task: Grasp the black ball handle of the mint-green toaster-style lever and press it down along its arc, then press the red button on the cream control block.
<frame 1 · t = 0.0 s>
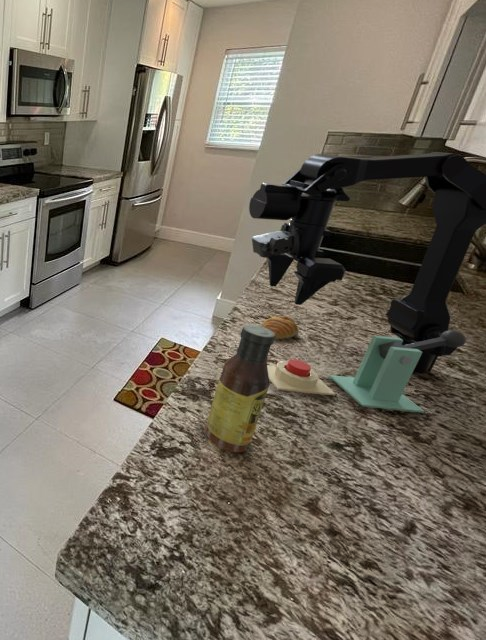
hand: (284, 294, 85), 15 cm above the countertop, tool pointing down, fingers open, 9 cm apart
button block: (292, 383, 81), on the countertop
sauce bottle: (225, 440, 66), on the countertop
lever bracket: (372, 397, 78), on the countertop
pastry: (277, 334, 100), on the countertop
cancel button: (298, 368, 80), point 3 cm above the countertop, slide at 0.1 cm
press lever: (422, 345, 73), point 12 cm above the countertop, hinge at 24.0°
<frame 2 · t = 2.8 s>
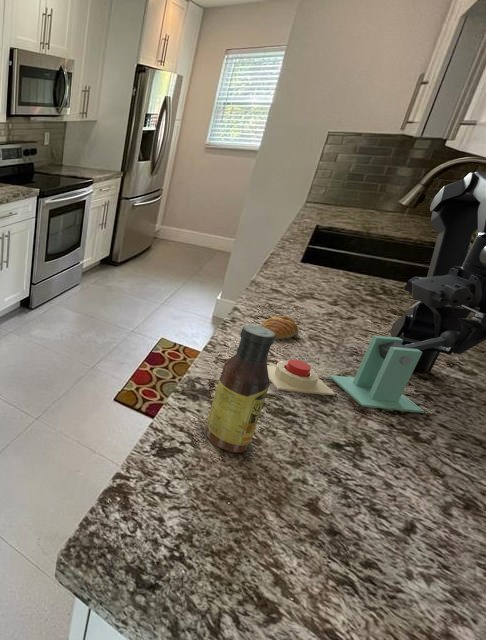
hand: (447, 348, 73), 12 cm above the countertop, tool pointing down, fingers closed on press lever, 3 cm apart
press lever: (422, 345, 73), point 12 cm above the countertop, hinge at 24.0°, touching gripper
everything else where it was.
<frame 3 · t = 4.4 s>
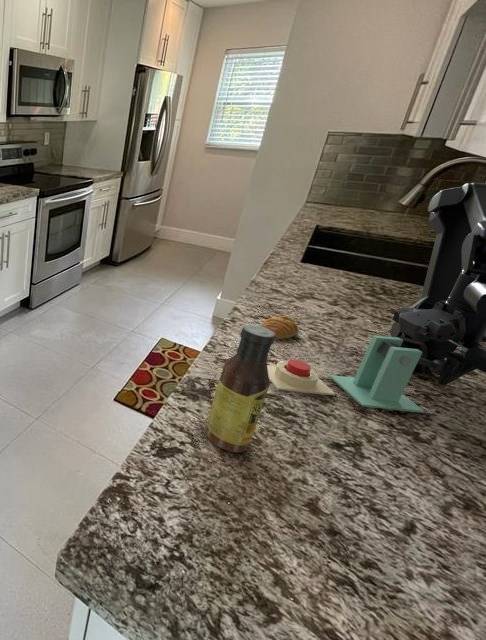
hand: (433, 379, 75), 5 cm above the countertop, tool pointing down, fingers closed on press lever, 3 cm apart
press lever: (417, 359, 74), point 9 cm above the countertop, hinge at -14.4°, touching gripper
everything else where it was.
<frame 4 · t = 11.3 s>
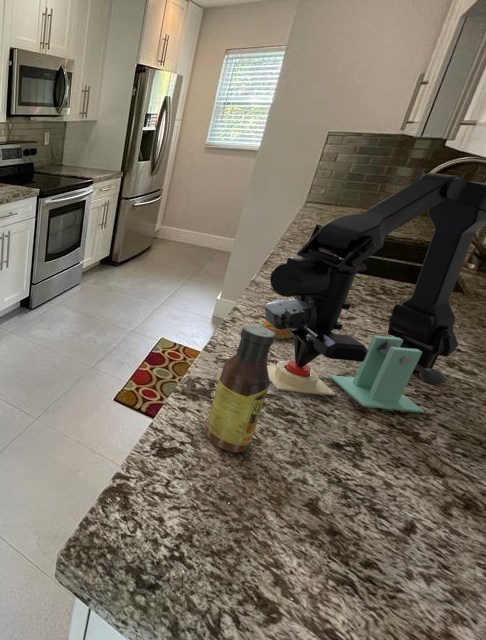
hand: (299, 365, 79), 4 cm above the countertop, tool pointing down, fingers closed, pressing on cancel button
cancel button: (297, 369, 80), point 3 cm above the countertop, slide at -0.1 cm, touching gripper
press lever: (412, 364, 74), point 8 cm above the countertop, hinge at -28.6°
everything else where it was.
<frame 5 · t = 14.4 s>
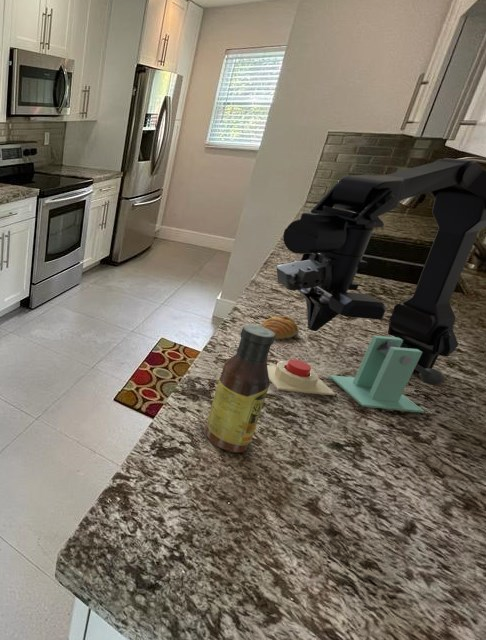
hand: (312, 329, 77), 12 cm above the countertop, tool pointing down, fingers closed
cancel button: (298, 368, 80), point 3 cm above the countertop, slide at 0.1 cm
everything else where it was.
at the end: press lever at -29° (first picture: +24°); cancel button pushed in 1.1 cm at the most during the clip, back to where it started at the end; cancel button slide at 0.1 cm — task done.
